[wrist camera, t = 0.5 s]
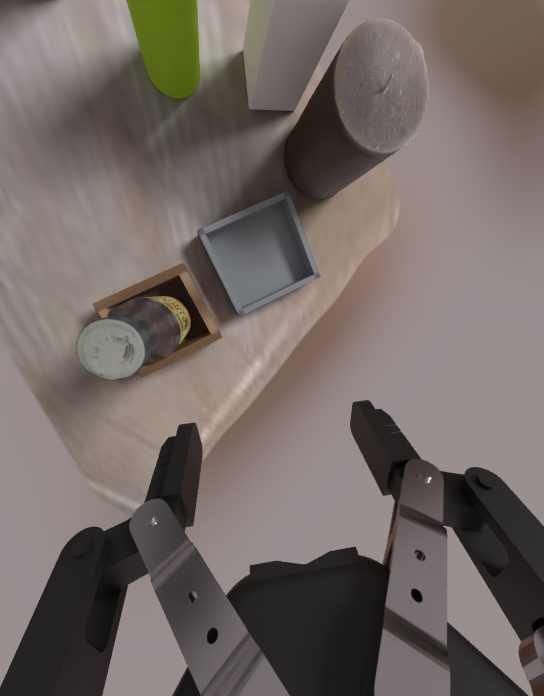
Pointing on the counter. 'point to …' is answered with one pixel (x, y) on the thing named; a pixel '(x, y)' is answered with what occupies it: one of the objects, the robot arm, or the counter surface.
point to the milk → (285, 48)
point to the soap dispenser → (168, 43)
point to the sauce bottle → (133, 336)
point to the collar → (152, 283)
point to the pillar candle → (359, 110)
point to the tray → (260, 253)
